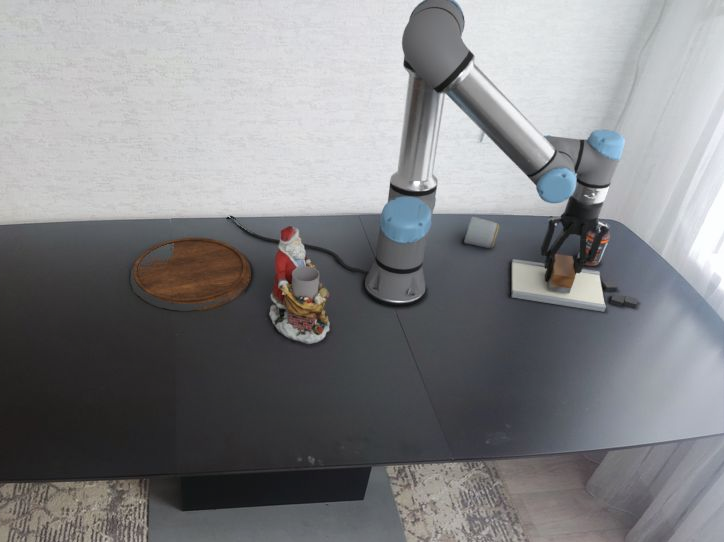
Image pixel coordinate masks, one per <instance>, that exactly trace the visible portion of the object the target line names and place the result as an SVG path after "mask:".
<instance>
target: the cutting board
mask: <svg viewBox="0 0 724 542" xmlns="http://www.w3.org/2000/svg"><path fill="white" fill-rule="evenodd" d="M172 243H174V249H173V250H174V251H173V250H172V251H173V256H171V257H172V258H171V257H169V258H168V261H167V260H166V259H167V258H166V259H165V261H163V260H164V258H163V260H162V261H159V260H156V259H157V258H158V257H157V258H156V259H155V262H154V261H150V263H151V262H152V264H151V265H147V267H148V266H149V268H145V267H146V265H145V266H144V265H141V264H140V262H141V261H142V259H143V258H144V257H145V256H146V255H147V254H149V253H150V252H151V251H153V250H155V249H157V248H159V247H161V246H164V245H167V244H172ZM172 246H173V245H172ZM171 249H172V248H171ZM171 249H170V250H171ZM170 250H169V251H170ZM170 258H171V259H170ZM149 259H150V258H149ZM149 259H148V260H149ZM151 259H152V258H151ZM158 259H159V258H158ZM161 259H162V258H161ZM161 259H160V260H161ZM146 260H147V259H146ZM153 260H154V258H153ZM153 262H154V264H153ZM156 262H157V263H158V262H159V264H157V263H156ZM161 262H162V263H161ZM163 262H164V264H163ZM166 262H167V264H165V263H166ZM143 263H144V262H143ZM148 263H149V262H147V264H148ZM150 263H149V264H150ZM155 263H156V264H155ZM160 263H161V264H160ZM134 264H135V265H134ZM134 264H133V265H134V270H133V275H134V280H135V282H136V284H138V286H139V287H140V288H141V289H142V290H143V291H145V292H146V293H147V294H149V295H150V296H153V297H155V298H158V299H160V300H164V301H168V302H173V303H179V304H196V303H198V304H200V303H207V302H212V301H216V300H219V299H221V298H222V299H223V298H225V297H228V296H231V295H232V294H234V293H236V292H237V291H239V290H241V288H243V287H244V286H245V287H244V288H243V289H242V290H241V291H240V292H239V293H237V294H236V295H234V296H233V297H231V298H229V299H227V300H225V301H222V302H220V303H217V304H214V305H209V306H205V307H201V309H200V310H199V311H206V310H210V309H215V308H217V307H220V306H223V305H225V304H228V303H230V302H232V301H233V300H234V299H236V298H238V297H239V296H240V295H241V294H242V293H243V292H245V290H246V289H247V287H248V286H249V284H250V282H251V276H252V270H251V265H250V262H249V261H248V260H247V258H246V257H245V255H244V254H242V252H241V251H239V250H238V249H237V248H235V247H234V246H233V245H230V244H229V243H227V242H224V241H220V240H217V239H214V238H213V239H212V238H208V237H207V238H206V237H182V238H176V239H171V240H168V241H164V242H161V243H159V244H155V245H154V246H152V247H150V248H149V249H147V250H146V251H145V252H143V253H142V254H141V255H140V256H138V258H137V259H136V261H135V263H134ZM139 264H140V265H141V266H142V268H141V266H140V268H139V269H140V271H139V269H138V266H139ZM145 264H146V262H145ZM153 265H154V267H153ZM143 266H144V268H143ZM150 266H151V268H150ZM155 266H156V267H155ZM160 266H161V267H160ZM165 266H166V267H165ZM141 269H142V270H141ZM146 269H147V270H146ZM148 269H149V270H148ZM150 269H151V270H150ZM144 271H145V272H144ZM137 272H138V273H137ZM139 272H140V273H139ZM138 274H139V275H138ZM140 274H141V275H140ZM142 274H143V275H142ZM249 277H250V278H249ZM247 282H248V283H247ZM246 283H247V284H246ZM245 284H246V285H245ZM192 309H194V308H192ZM197 309H198V308H196V309H195V310H197ZM202 309H203V310H202ZM199 311H198V312H199Z"/></svg>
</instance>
